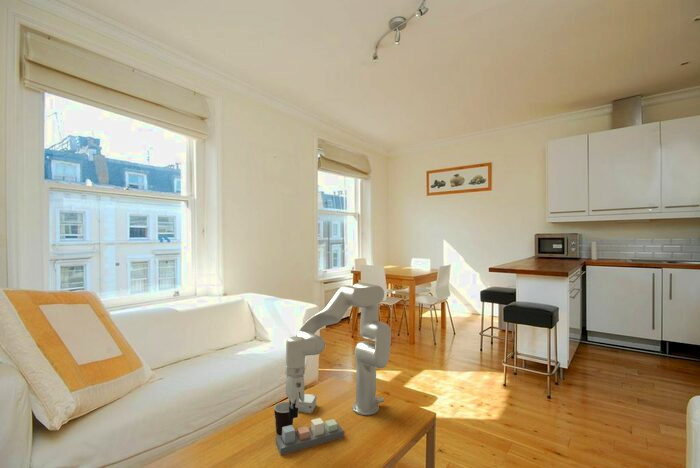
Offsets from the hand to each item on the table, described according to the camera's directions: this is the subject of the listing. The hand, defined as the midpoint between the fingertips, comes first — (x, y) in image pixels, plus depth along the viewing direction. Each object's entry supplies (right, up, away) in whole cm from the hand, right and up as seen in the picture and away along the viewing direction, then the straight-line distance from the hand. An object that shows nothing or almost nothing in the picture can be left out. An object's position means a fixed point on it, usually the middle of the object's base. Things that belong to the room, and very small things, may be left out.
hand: (293, 417), depth 125 cm
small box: (+1, -12, +27) cm, 30 cm away
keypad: (+6, -11, +3) cm, 13 cm away
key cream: (+9, -9, +5) cm, 14 cm away
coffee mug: (-5, -11, +10) cm, 16 cm away
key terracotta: (+4, -11, +2) cm, 11 cm away
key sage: (+14, -11, +7) cm, 19 cm away
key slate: (-2, -9, -1) cm, 9 cm away
